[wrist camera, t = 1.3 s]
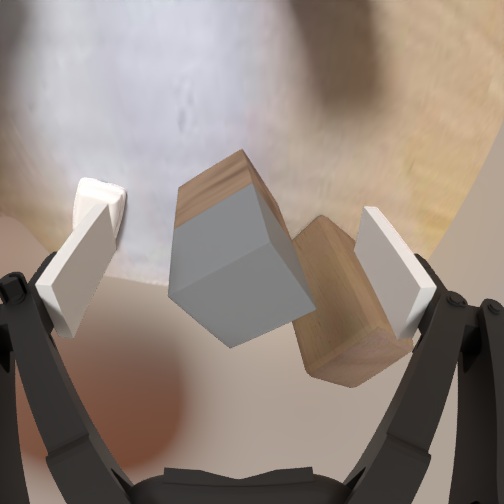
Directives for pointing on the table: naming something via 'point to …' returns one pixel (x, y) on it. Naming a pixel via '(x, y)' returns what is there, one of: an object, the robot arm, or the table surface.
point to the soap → (99, 201)
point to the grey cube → (237, 270)
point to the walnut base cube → (222, 188)
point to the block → (341, 311)
